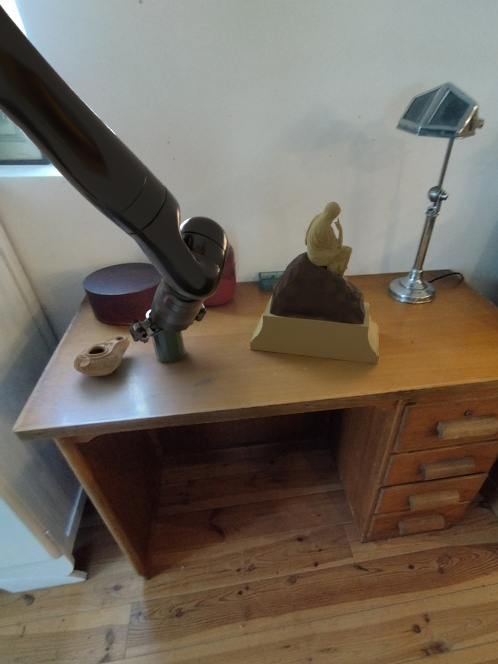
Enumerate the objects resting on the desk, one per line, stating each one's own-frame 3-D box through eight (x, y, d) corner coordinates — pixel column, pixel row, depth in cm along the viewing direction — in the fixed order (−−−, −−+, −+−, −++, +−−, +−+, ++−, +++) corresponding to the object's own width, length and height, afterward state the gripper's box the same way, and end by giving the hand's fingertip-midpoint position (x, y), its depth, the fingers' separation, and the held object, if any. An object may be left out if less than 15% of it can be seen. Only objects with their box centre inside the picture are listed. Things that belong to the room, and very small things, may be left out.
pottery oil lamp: (146, 351, 82) (140, 335, 76) (109, 395, 77) (99, 381, 71) (111, 331, 82) (102, 312, 76) (72, 373, 78) (59, 357, 71)
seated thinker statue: (377, 332, 92) (403, 195, 72) (377, 363, 82) (407, 215, 62) (263, 320, 94) (258, 184, 74) (250, 349, 85) (240, 202, 65)
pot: (158, 365, 79) (147, 323, 73) (155, 350, 83) (144, 309, 77) (187, 359, 81) (179, 318, 75) (182, 344, 85) (174, 304, 79)
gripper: (205, 273, 69) (187, 306, 83) (125, 294, 62) (121, 325, 76) (222, 312, 69) (201, 337, 83) (146, 336, 62) (137, 360, 77)
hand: (163, 332), depth 80 cm, fingers open, 8 cm apart
